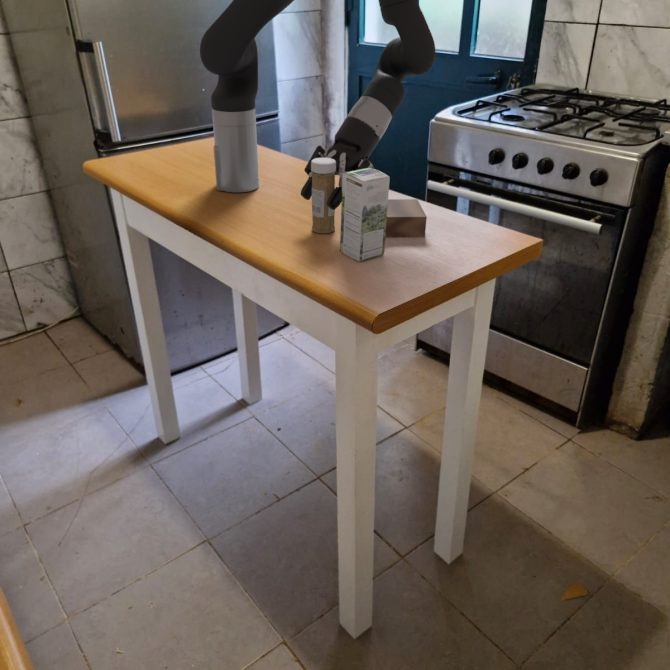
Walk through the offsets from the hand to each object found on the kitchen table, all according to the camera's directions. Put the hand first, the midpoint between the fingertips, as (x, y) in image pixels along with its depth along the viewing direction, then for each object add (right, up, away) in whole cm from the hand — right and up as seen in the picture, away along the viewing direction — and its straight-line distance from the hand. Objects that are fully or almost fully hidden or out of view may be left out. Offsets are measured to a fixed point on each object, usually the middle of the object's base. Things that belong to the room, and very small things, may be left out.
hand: (317, 202), depth 117 cm
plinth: (+15, -4, +6) cm, 16 cm away
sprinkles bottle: (+1, -5, +4) cm, 6 cm away
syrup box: (+8, -11, -6) cm, 14 cm away
